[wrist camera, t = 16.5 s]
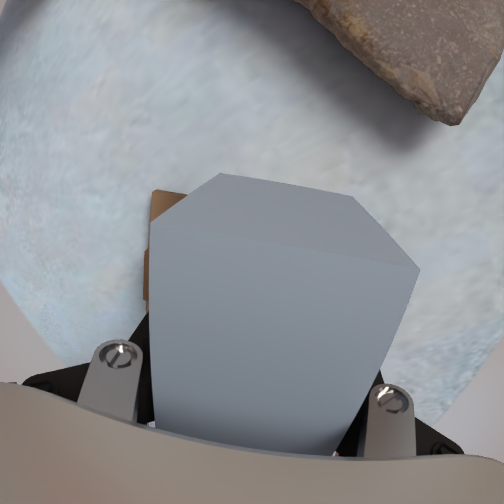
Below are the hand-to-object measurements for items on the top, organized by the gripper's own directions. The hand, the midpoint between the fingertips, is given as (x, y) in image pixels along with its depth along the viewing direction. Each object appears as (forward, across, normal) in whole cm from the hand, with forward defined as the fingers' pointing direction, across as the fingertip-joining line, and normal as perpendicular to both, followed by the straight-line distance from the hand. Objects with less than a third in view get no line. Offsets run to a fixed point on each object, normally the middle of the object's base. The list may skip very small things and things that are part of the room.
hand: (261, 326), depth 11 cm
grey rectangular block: (+1, 0, 0) cm, 1 cm away
